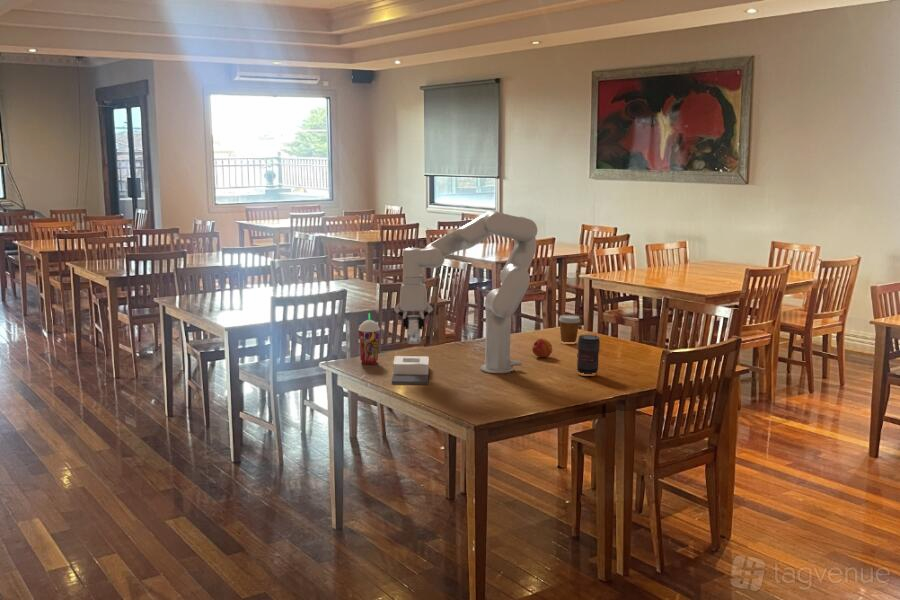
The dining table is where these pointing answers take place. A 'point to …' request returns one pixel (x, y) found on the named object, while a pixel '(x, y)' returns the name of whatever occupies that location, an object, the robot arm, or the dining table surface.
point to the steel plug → (413, 329)
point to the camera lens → (588, 354)
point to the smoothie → (369, 341)
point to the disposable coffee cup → (569, 327)
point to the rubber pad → (409, 379)
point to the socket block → (411, 365)
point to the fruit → (542, 348)
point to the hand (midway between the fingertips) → (413, 328)
